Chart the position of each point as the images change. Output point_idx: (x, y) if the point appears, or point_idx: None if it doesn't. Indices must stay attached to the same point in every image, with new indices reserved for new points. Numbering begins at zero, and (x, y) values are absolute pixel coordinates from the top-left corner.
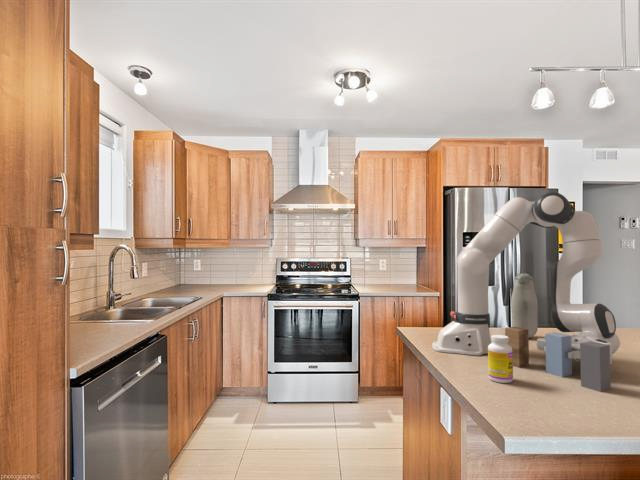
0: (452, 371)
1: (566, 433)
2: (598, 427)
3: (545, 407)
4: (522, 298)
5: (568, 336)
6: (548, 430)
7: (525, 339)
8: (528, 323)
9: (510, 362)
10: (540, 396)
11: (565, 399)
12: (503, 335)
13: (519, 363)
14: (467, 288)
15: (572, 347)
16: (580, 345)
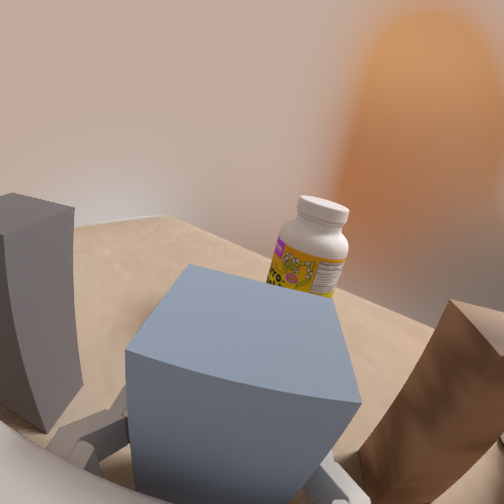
0: (378, 316)
1: (113, 224)
2: (75, 236)
3: (147, 257)
4: None
5: (148, 323)
6: (132, 224)
7: (447, 393)
8: None
9: (271, 263)
10: (168, 285)
11: (119, 288)
12: (331, 207)
13: (367, 440)
14: None
15: (129, 489)
16: (72, 218)
